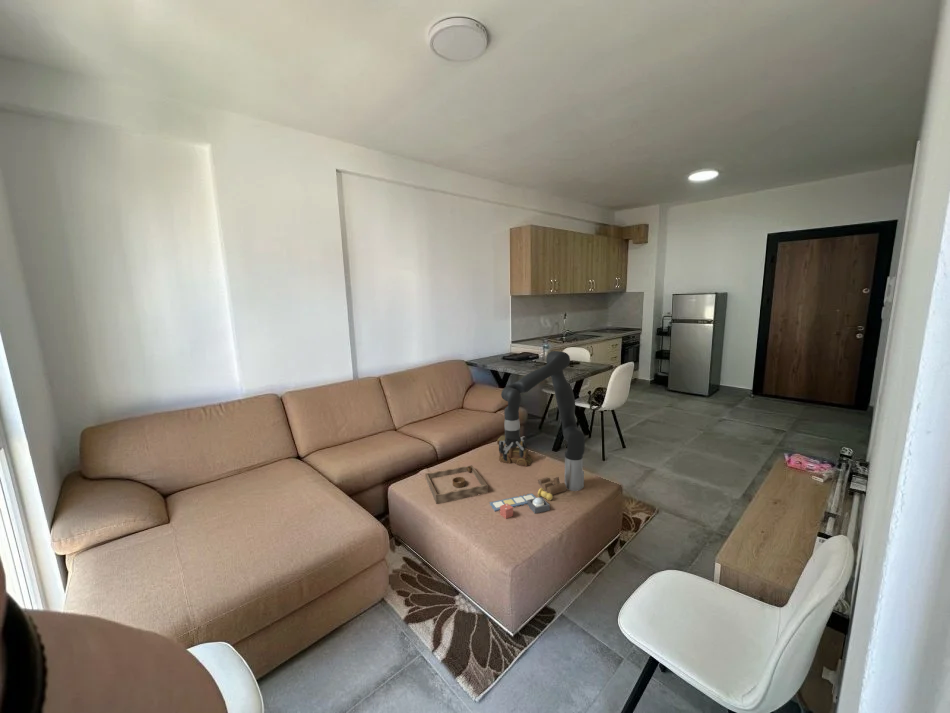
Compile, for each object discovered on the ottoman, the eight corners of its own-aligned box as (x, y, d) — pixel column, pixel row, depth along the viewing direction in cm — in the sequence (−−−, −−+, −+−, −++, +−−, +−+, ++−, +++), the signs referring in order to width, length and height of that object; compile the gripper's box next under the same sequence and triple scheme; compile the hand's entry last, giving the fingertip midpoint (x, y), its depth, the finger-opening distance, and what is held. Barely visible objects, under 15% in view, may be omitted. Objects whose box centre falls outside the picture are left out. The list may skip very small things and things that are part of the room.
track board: (532, 494, 198) (532, 492, 198) (539, 501, 191) (539, 499, 191) (489, 503, 190) (489, 502, 190) (495, 511, 183) (494, 509, 183)
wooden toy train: (496, 466, 233) (496, 440, 230) (503, 458, 243) (502, 434, 241) (528, 471, 225) (528, 444, 222) (533, 463, 235) (533, 437, 233)
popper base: (541, 502, 191) (541, 496, 190) (549, 510, 183) (549, 504, 183) (527, 505, 188) (527, 500, 188) (534, 513, 181) (534, 508, 180)
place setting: (441, 485, 212) (440, 475, 211) (469, 474, 224) (469, 465, 223) (459, 497, 198) (458, 487, 197) (488, 485, 210) (488, 475, 209)
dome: (540, 503, 189) (540, 494, 188) (546, 509, 184) (546, 499, 183) (530, 505, 187) (530, 496, 186) (536, 511, 182) (535, 502, 181)
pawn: (537, 497, 195) (549, 503, 190) (538, 489, 194) (550, 495, 189) (541, 494, 198) (553, 500, 193) (542, 486, 197) (554, 492, 192)
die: (507, 511, 183) (507, 503, 182) (513, 515, 179) (513, 507, 179) (500, 514, 181) (499, 506, 180) (505, 519, 177) (505, 510, 176)
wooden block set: (534, 477, 208) (549, 473, 212) (537, 493, 206) (552, 488, 211) (553, 479, 192) (569, 474, 196) (557, 497, 190) (573, 492, 195)
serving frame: (472, 473, 224) (471, 465, 223) (488, 494, 200) (487, 485, 199) (425, 481, 215) (425, 473, 214) (436, 504, 191) (436, 495, 190)
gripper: (521, 422, 192) (522, 453, 194) (495, 427, 187) (497, 458, 190) (528, 427, 185) (529, 458, 187) (502, 432, 180) (503, 464, 183)
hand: (513, 458), depth 189 cm, fingers open, 8 cm apart
